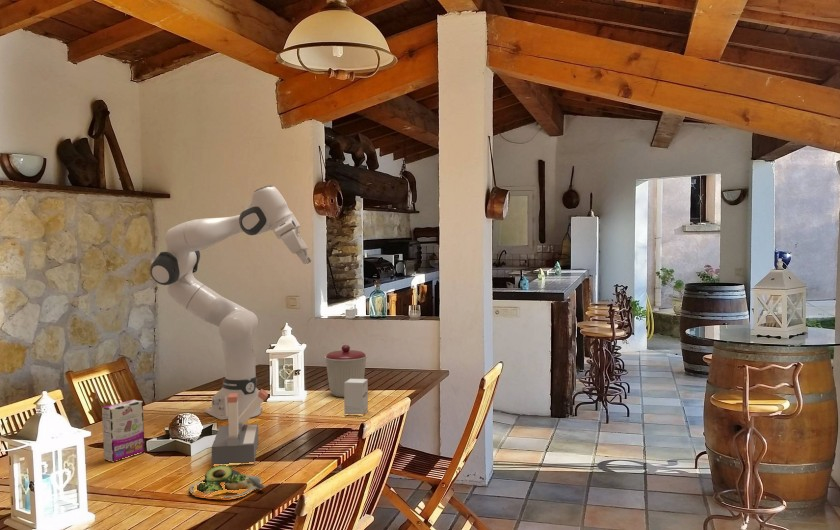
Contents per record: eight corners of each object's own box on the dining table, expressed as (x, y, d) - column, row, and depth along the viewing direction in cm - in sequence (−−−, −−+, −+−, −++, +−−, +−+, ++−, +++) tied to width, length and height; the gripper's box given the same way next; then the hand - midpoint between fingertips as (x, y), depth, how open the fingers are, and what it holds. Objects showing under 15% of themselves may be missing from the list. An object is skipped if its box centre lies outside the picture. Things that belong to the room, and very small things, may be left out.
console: (211, 467, 201) (211, 438, 200) (220, 444, 223) (219, 418, 223) (254, 464, 203) (253, 436, 202) (258, 442, 225) (257, 416, 225)
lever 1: (228, 444, 202) (227, 397, 202) (230, 439, 208) (229, 393, 207) (237, 443, 203) (236, 397, 202) (239, 438, 208) (238, 393, 207)
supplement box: (363, 416, 255) (362, 382, 255) (343, 415, 257) (343, 382, 256) (368, 411, 263) (368, 378, 262) (349, 410, 264) (349, 378, 264)
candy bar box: (135, 450, 217) (133, 398, 217) (145, 453, 215) (143, 400, 214) (102, 460, 208) (101, 406, 207) (112, 463, 205) (111, 408, 204)
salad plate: (281, 483, 188) (281, 466, 188) (242, 507, 172) (241, 489, 172) (223, 474, 196) (222, 458, 195) (179, 497, 179) (179, 480, 179)
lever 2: (232, 426, 217) (260, 392, 218) (233, 422, 222) (261, 388, 223) (239, 431, 218) (267, 396, 219) (240, 427, 223) (268, 393, 224)
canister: (362, 388, 302) (361, 340, 301) (372, 397, 285) (372, 347, 284) (321, 391, 296) (320, 343, 295) (329, 401, 279) (328, 349, 278)
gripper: (283, 233, 245) (303, 267, 245) (274, 232, 224) (296, 268, 225) (298, 224, 245) (318, 258, 246) (290, 222, 225) (313, 258, 225)
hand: (308, 263), depth 235 cm, fingers open, 8 cm apart
